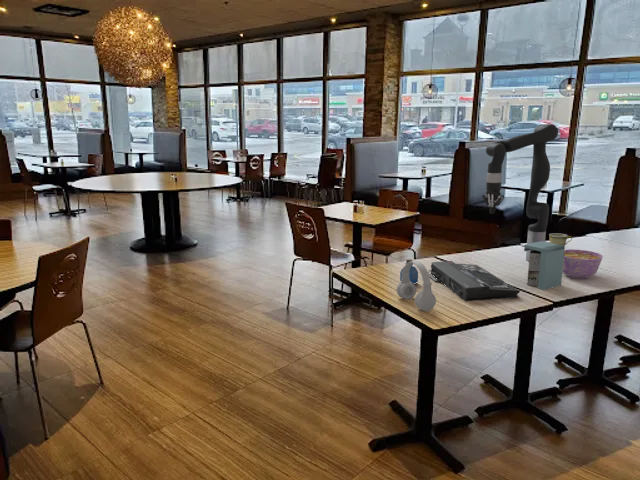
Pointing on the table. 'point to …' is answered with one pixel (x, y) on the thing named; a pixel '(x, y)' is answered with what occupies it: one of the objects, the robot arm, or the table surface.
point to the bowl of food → (581, 263)
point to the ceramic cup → (558, 238)
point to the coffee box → (534, 267)
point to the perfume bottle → (411, 273)
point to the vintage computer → (471, 281)
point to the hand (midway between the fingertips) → (492, 213)
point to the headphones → (408, 289)
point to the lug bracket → (548, 263)
